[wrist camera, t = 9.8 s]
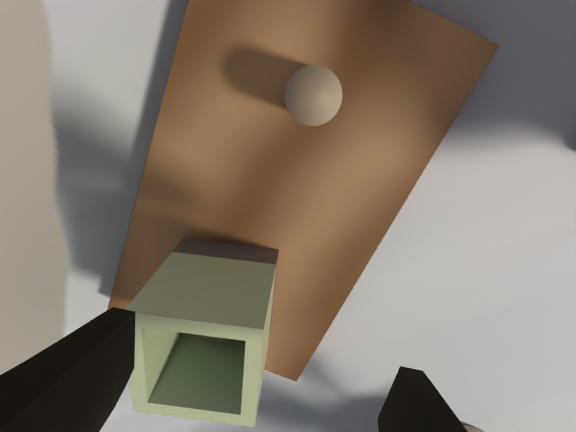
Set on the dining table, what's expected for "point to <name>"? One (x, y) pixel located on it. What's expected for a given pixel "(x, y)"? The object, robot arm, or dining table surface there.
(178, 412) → the sleeve
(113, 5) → the dining table surface
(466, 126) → the dining table surface
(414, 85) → the pin board
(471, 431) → the house plant
